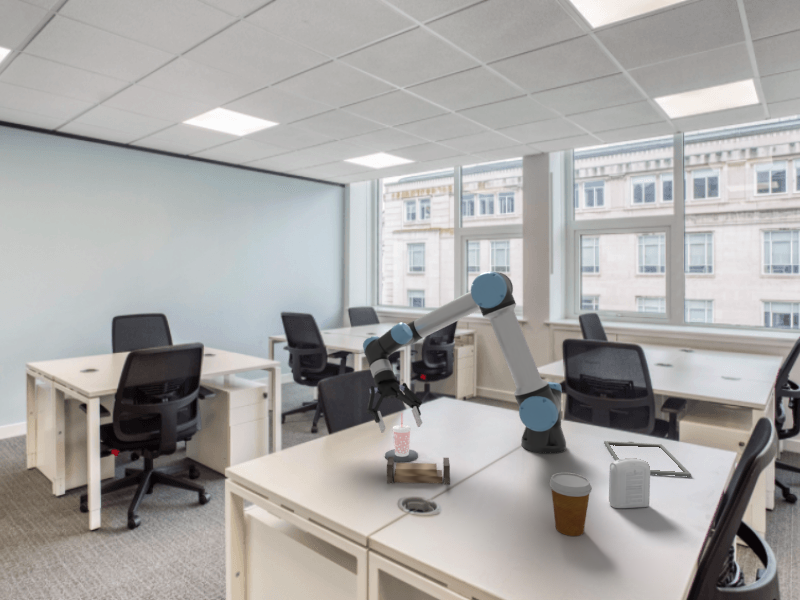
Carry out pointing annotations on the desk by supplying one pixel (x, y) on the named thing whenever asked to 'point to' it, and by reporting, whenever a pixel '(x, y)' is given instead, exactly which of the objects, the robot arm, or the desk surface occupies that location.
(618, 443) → the grey rectangular frame
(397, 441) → the beverage cup
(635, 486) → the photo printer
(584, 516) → the disposable coffee cup
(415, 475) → the offcut rack
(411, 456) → the mat
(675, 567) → the desk surface
